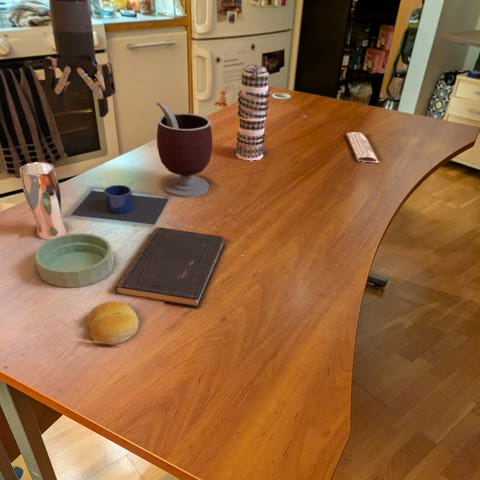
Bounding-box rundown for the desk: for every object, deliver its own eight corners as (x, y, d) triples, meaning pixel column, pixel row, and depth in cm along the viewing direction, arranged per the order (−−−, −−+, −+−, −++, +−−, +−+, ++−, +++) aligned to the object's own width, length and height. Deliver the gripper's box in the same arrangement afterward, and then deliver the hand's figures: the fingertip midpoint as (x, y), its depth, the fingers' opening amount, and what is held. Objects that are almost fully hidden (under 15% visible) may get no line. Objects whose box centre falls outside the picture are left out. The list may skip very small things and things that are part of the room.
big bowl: (26, 284, 87) (21, 267, 85) (58, 246, 98) (54, 229, 96) (98, 293, 86) (95, 276, 84) (123, 254, 97) (121, 237, 95)
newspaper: (346, 136, 163) (347, 131, 162) (366, 137, 163) (367, 132, 162) (356, 162, 145) (357, 156, 144) (379, 163, 145) (380, 157, 144)
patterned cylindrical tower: (270, 156, 144) (279, 67, 128) (250, 163, 139) (257, 72, 123) (249, 148, 149) (254, 61, 133) (228, 154, 144) (232, 65, 128)
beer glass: (35, 228, 103) (17, 163, 94) (67, 224, 105) (54, 160, 96) (36, 244, 98) (18, 176, 89) (70, 239, 100) (56, 173, 91)
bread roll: (93, 351, 75) (89, 333, 72) (87, 317, 81) (83, 299, 78) (144, 341, 77) (142, 323, 75) (134, 308, 84) (131, 291, 81)
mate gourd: (221, 186, 126) (224, 108, 113) (189, 203, 117) (188, 121, 104) (178, 171, 132) (175, 96, 119) (144, 186, 123) (137, 107, 110)
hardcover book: (224, 245, 102) (225, 236, 101) (198, 308, 85) (198, 298, 83) (155, 235, 104) (154, 226, 102) (115, 295, 86) (114, 285, 85)
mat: (66, 220, 107) (66, 219, 106) (92, 191, 119) (92, 190, 119) (150, 230, 105) (150, 228, 105) (168, 200, 118) (168, 198, 117)
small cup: (103, 212, 110) (100, 194, 107) (111, 201, 115) (109, 183, 112) (128, 215, 109) (126, 197, 106) (136, 204, 114) (134, 186, 111)
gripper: (114, 28, 93) (121, 113, 103) (46, 21, 94) (60, 105, 104) (100, 33, 87) (109, 123, 97) (28, 25, 88) (45, 115, 98)
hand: (84, 114), depth 100 cm, fingers open, 8 cm apart
